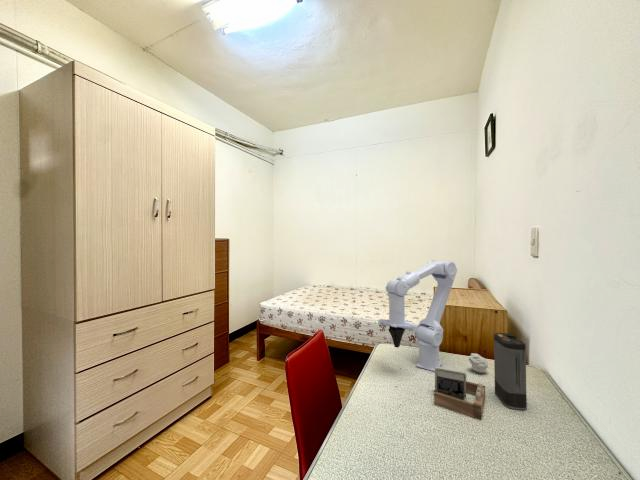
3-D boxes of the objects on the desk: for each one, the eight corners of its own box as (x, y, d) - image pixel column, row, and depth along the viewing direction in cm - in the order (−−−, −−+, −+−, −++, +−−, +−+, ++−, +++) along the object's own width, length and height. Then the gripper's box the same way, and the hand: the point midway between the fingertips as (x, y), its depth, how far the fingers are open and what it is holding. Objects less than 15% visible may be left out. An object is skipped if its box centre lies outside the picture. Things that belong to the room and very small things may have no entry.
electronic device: (529, 411, 77) (528, 343, 78) (506, 408, 79) (505, 342, 79) (512, 393, 87) (511, 333, 87) (492, 391, 88) (492, 332, 88)
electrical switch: (466, 395, 86) (465, 368, 85) (467, 406, 81) (467, 377, 80) (434, 389, 90) (434, 363, 89) (434, 398, 85) (434, 371, 84)
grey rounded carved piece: (465, 368, 105) (464, 350, 105) (482, 368, 104) (482, 350, 104) (473, 375, 99) (473, 357, 99) (492, 376, 98) (492, 357, 98)
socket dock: (443, 384, 92) (443, 369, 92) (485, 396, 85) (485, 379, 85) (434, 404, 81) (434, 386, 81) (481, 420, 74) (481, 400, 74)
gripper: (375, 310, 102) (375, 345, 101) (412, 316, 93) (413, 354, 93) (382, 307, 107) (382, 340, 107) (418, 312, 99) (418, 348, 98)
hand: (397, 346), depth 100 cm, fingers closed
